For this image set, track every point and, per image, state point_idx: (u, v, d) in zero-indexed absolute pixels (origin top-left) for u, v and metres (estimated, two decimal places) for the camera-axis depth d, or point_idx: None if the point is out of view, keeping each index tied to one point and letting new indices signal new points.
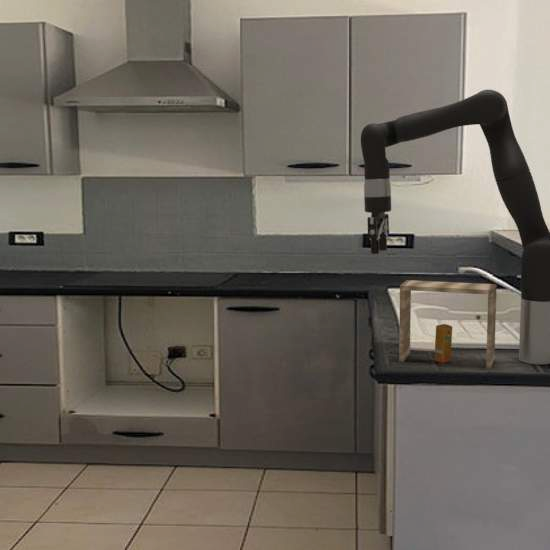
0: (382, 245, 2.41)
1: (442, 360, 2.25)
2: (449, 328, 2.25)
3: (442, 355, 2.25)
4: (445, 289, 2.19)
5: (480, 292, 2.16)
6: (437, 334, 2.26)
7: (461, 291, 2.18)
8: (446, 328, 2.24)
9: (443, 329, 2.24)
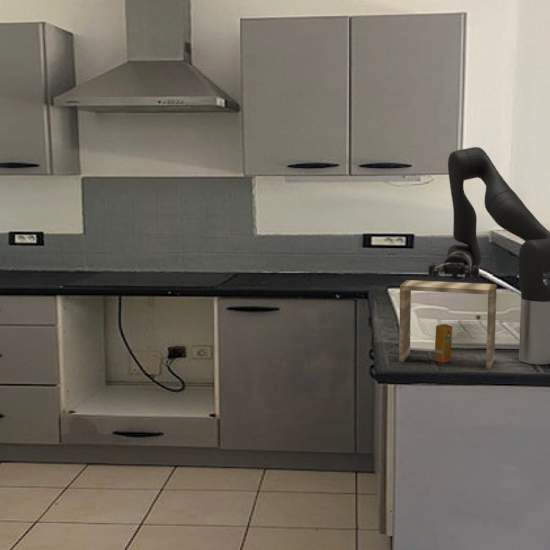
0: None
1: (442, 360, 2.25)
2: (449, 328, 2.25)
3: (442, 355, 2.25)
4: (445, 289, 2.19)
5: (480, 292, 2.16)
6: (437, 334, 2.26)
7: (461, 291, 2.18)
8: (446, 328, 2.24)
9: (443, 329, 2.24)
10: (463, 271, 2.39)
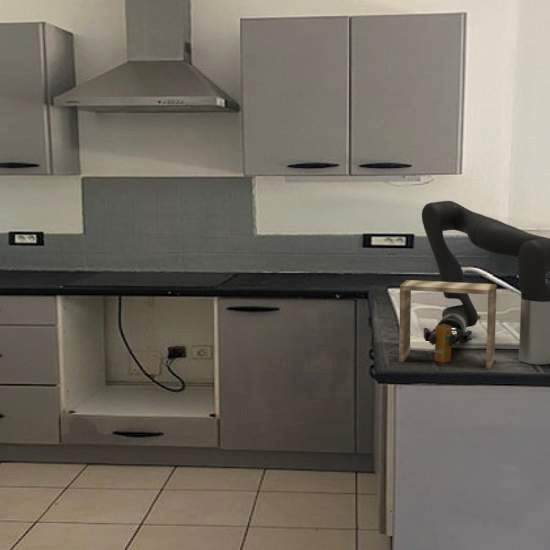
0: None
1: (442, 360, 2.25)
2: (449, 328, 2.25)
3: (442, 355, 2.25)
4: (445, 289, 2.19)
5: (480, 292, 2.16)
6: (437, 334, 2.26)
7: (461, 291, 2.18)
8: (446, 328, 2.24)
9: (443, 329, 2.24)
10: None
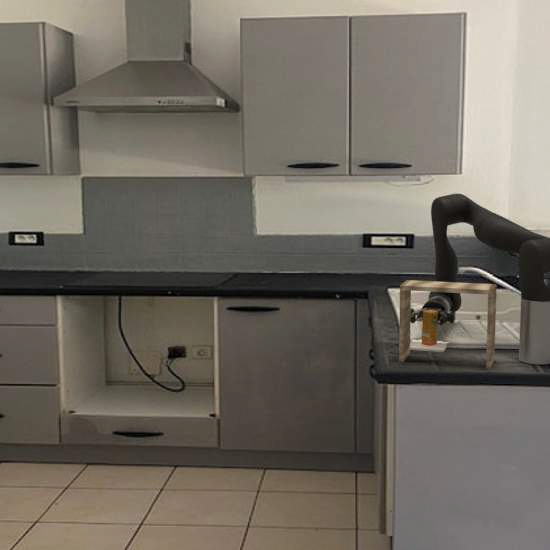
0: None
1: (429, 343, 2.42)
2: (435, 313, 2.41)
3: (428, 338, 2.41)
4: (445, 289, 2.19)
5: (480, 292, 2.16)
6: (424, 319, 2.42)
7: (461, 291, 2.18)
8: (432, 313, 2.40)
9: (429, 314, 2.40)
10: (439, 317, 2.45)
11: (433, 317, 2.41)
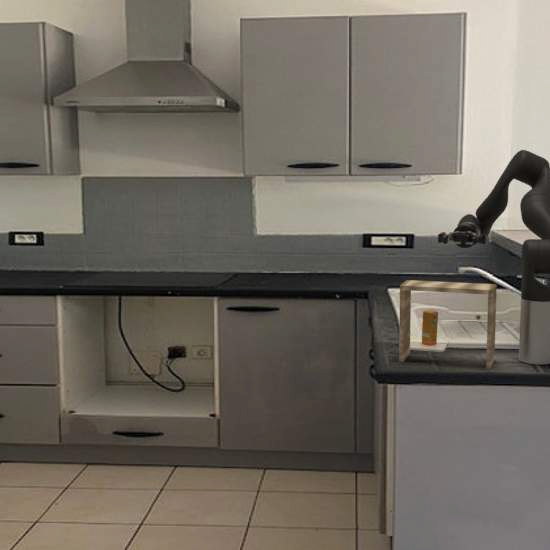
0: None
1: (429, 343, 2.42)
2: (435, 313, 2.41)
3: (428, 338, 2.41)
4: (445, 289, 2.19)
5: (480, 292, 2.16)
6: (424, 319, 2.42)
7: (461, 291, 2.18)
8: (432, 313, 2.40)
9: (429, 314, 2.40)
10: (471, 238, 2.51)
11: (433, 317, 2.41)
